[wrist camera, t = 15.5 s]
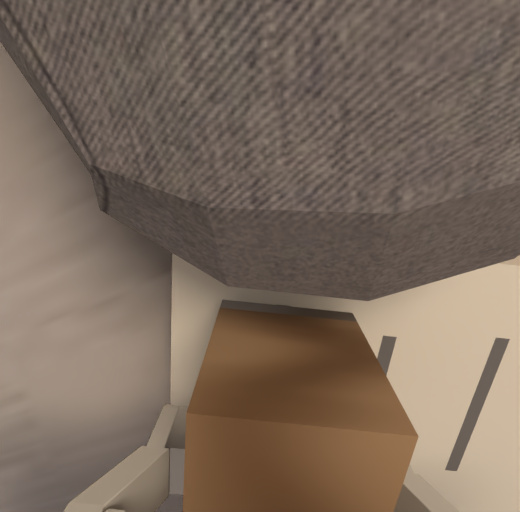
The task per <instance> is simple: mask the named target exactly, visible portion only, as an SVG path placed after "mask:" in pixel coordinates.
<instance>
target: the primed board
mask: <svg viewBox="0 0 520 512" xmlns="http://www.w3.org/2000/svg"><path fill="white" fill-rule="evenodd" d="M222 300H232V301H242V302H251V303H261V304H271V305H281V306H290V307H300V308H310V309H320V310H329V311H339V312H349V313H353V315H354V317H355V319H356V320H357V322H358V324H359V326H360V328H361V330H362V332H363V333H364V335H365V337H366V339H367V341H368V343H369V345H370V347H371V348H372V350H373V352H374V354H375V356H376V358H377V360H378V362H379V363H380V365H381V367H382V369H383V371H384V373H385V375H386V376H387V378H388V380H389V382H390V384H391V386H392V388H393V390H394V391H395V393H396V395H397V397H398V399H399V401H400V403H401V404H402V406H403V408H404V410H405V412H406V414H407V416H408V418H409V419H410V421H411V423H412V425H413V427H414V429H415V431H416V433H417V434H418V436H419V437H418V440H417V443H416V446H415V449H414V452H413V455H412V458H411V461H410V466H411V468H412V470H413V472H414V474H419V475H420V476H421V477H422V478H423V479H424V480H426V481H427V482H428V483H429V484H430V485H431V486H432V487H433V488H434V489H435V490H436V491H437V492H439V493H440V494H441V495H442V496H443V497H444V498H445V499H446V500H447V501H448V502H449V503H450V504H452V505H453V506H454V507H455V508H456V509H457V510H458V511H459V512H520V255H519V256H517V257H516V258H515V259H511V260H508V261H504V262H501V263H497V264H494V265H491V266H487V267H484V268H480V269H477V270H473V271H470V272H467V273H463V274H460V275H456V276H453V277H449V278H446V279H443V280H439V281H436V282H432V283H429V284H425V285H422V286H419V287H415V288H412V289H408V290H405V291H401V292H398V293H395V294H391V295H388V296H384V297H381V298H378V299H374V300H371V301H362V300H352V299H343V298H334V297H324V296H315V295H305V294H296V293H286V292H277V291H267V290H258V289H249V288H239V287H230V286H226V285H225V284H223V283H221V282H220V281H218V280H216V279H215V278H213V277H211V276H210V275H208V274H206V273H205V272H203V271H201V270H200V269H198V268H196V267H195V266H193V265H191V264H190V263H188V262H186V261H185V260H183V259H181V258H180V257H178V256H176V255H175V254H173V253H172V316H171V393H170V405H177V406H189V403H190V400H191V397H192V394H193V390H194V387H195V384H196V381H197V378H198V375H199V372H200V368H201V365H202V362H203V359H204V356H205V353H206V350H207V346H208V343H209V340H210V337H211V334H212V331H213V327H214V324H215V321H216V318H217V315H218V312H219V309H220V305H221V302H222Z"/></svg>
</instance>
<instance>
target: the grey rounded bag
mask: <svg viewBox="0 0 520 512" xmlns="http://www.w3.org/2000/svg"><path fill="white" fill-rule="evenodd" d="M0 42H1V43H2V44H3V46H4V47H5V49H6V50H7V52H8V53H9V55H10V56H11V58H12V59H13V61H14V62H15V64H16V65H17V66H18V68H19V69H20V71H21V72H22V74H23V75H24V77H25V78H26V80H27V81H28V83H29V84H30V86H31V87H32V88H33V90H34V91H35V93H36V94H37V96H38V97H39V99H40V100H41V102H42V103H43V105H44V106H45V108H46V109H47V111H48V112H49V113H50V115H51V116H52V118H53V119H54V121H55V122H56V124H57V125H58V127H59V128H60V130H61V131H62V133H63V134H64V135H65V137H66V138H67V140H68V141H69V143H70V144H71V146H72V147H73V149H74V150H75V152H76V153H77V155H78V156H79V157H80V159H81V160H82V162H83V163H84V165H85V166H86V168H87V169H88V171H89V172H90V174H91V175H92V179H93V183H94V187H95V191H96V195H97V199H98V203H99V207H100V210H101V211H103V212H105V213H106V214H108V215H110V216H111V217H113V218H115V219H116V220H118V221H120V222H121V223H123V224H125V225H126V226H128V227H130V228H131V229H133V230H135V231H136V232H138V233H140V234H141V235H143V236H145V237H146V238H148V239H150V240H151V241H153V242H155V243H156V244H158V245H160V246H161V247H163V248H165V249H166V250H168V251H170V252H171V253H173V254H175V255H176V256H178V257H180V258H181V259H183V260H185V261H186V262H188V263H190V264H191V265H193V266H195V267H196V268H198V269H200V270H201V271H203V272H205V273H206V274H208V275H210V276H211V277H213V278H215V279H216V280H218V281H220V282H221V283H223V284H225V285H226V286H230V287H239V288H249V289H258V290H267V291H277V292H286V293H296V294H305V295H315V296H324V297H334V298H343V299H352V300H362V301H371V300H374V299H378V298H381V297H384V296H388V295H391V294H395V293H398V292H401V291H405V290H408V289H412V288H415V287H419V286H422V285H425V284H429V283H432V282H436V281H439V280H443V279H446V278H449V277H453V276H456V275H460V274H463V273H467V272H470V271H473V270H477V269H480V268H484V267H487V266H491V265H494V264H497V263H501V262H504V261H508V260H511V259H515V258H516V257H517V256H519V255H520V0H0Z"/></svg>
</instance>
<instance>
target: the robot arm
mask: <svg viewBox="0 0 520 512" xmlns="http://www.w3.org/2000/svg"><path fill="white" fill-rule="evenodd" d="M187 409H188V406H177V405H170V404H165V405H164V407H163V408H162V410H161V413H160V415H159V417H158V420H157V422H156V424H155V427H154V429H153V431H152V434H151V436H150V438H149V441H148V443H147V445H146V446H141V447H139V448H138V449H137V450H135V451H134V452H133V453H132V454H130V455H129V456H128V457H127V458H125V459H124V460H123V461H121V462H120V463H119V464H118V465H116V466H115V467H114V468H113V469H111V470H110V471H109V472H107V473H106V474H105V475H104V476H102V477H101V478H100V479H98V480H97V481H96V482H95V483H93V484H92V485H91V486H90V487H88V488H87V489H86V490H84V491H83V492H82V493H81V494H79V495H78V496H77V497H76V498H74V499H73V500H72V501H70V502H69V503H68V505H67V507H66V509H65V510H64V512H155V511H156V510H157V509H158V508H159V506H160V505H161V504H162V503H163V502H164V501H165V499H166V498H167V497H168V494H178V495H183V489H184V461H185V434H186V412H187ZM394 512H459V511H458V510H457V509H456V508H455V507H454V506H453V505H452V504H450V503H449V502H448V501H447V500H446V499H445V498H444V497H443V496H442V495H441V494H440V493H439V492H437V491H436V490H435V489H434V488H433V487H432V486H431V485H430V484H429V483H428V482H427V481H426V480H424V479H423V478H422V477H421V476H420V475H419V474H414V472H413V470H412V468H411V466H410V464H409V467H408V470H407V473H406V476H405V479H404V482H403V485H402V488H401V491H400V494H399V497H398V500H397V503H396V506H395V510H394Z"/></svg>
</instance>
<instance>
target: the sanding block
mask: <svg viewBox="0 0 520 512" xmlns="http://www.w3.org/2000/svg"><path fill="white" fill-rule="evenodd" d="M418 437H419V436H418V434H417V433H416V431H415V429H414V427H413V425H412V423H411V421H410V419H409V418H408V416H407V414H406V412H405V410H404V408H403V406H402V404H401V403H400V401H399V399H398V397H397V395H396V393H395V391H394V390H393V388H392V386H391V384H390V382H389V380H388V378H387V376H386V375H385V373H384V371H383V369H382V367H381V365H380V363H379V362H378V360H377V358H376V356H375V354H374V352H373V350H372V348H371V347H370V345H369V343H368V341H367V339H366V337H365V335H364V333H363V332H362V330H361V328H360V326H359V324H358V322H357V320H356V319H355V317H354V315H353V313H349V312H339V311H329V310H320V309H310V308H300V307H290V306H281V305H271V304H261V303H251V302H242V301H232V300H222V302H221V305H220V309H219V312H218V315H217V318H216V321H215V324H214V327H213V331H212V334H211V337H210V340H209V343H208V346H207V350H206V353H205V356H204V359H203V362H202V365H201V368H200V372H199V375H198V378H197V381H196V384H195V387H194V390H193V394H192V397H191V400H190V403H189V406H188V409H187V412H186V434H185V461H184V489H183V512H394V510H395V506H396V503H397V500H398V497H399V494H400V491H401V488H402V485H403V482H404V479H405V476H406V473H407V470H408V467H409V464H410V461H411V458H412V455H413V452H414V449H415V446H416V443H417V440H418Z"/></svg>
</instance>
